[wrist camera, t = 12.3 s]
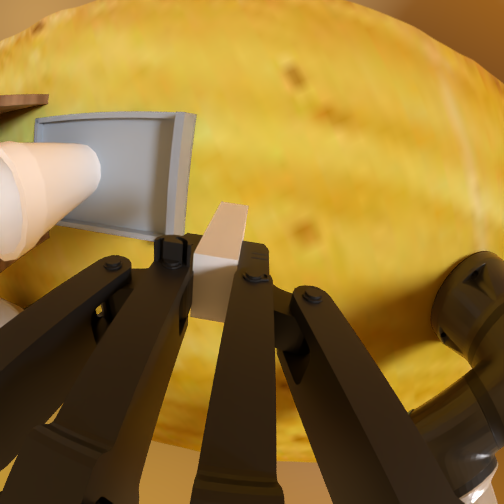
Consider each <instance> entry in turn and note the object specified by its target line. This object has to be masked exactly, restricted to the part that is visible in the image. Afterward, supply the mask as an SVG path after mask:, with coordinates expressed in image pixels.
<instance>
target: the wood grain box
mask: <svg viewBox="0 0 504 504" xmlns="http://www.w3.org/2000/svg"><path fill="white" fill-rule="evenodd" d="M48 97H49V94H23V95H0V114H1V113H5V112H9V111H13V110H18V109H22V108H27V107H32V106H37V105H43V104H48ZM48 238H49V231H47V232H46V233H45V234H44V235H43V236H42V237H41V238H40V239H39V241H38V242H37V243H36V245H35V246H34V247H33V248H35V247H36V246H37V245H39V244H40V243H42V242H43V241H45V240H46V239H48ZM33 248H32V249H33ZM32 249H30V250H32ZM30 250H29V251H30ZM29 251H27V252H29ZM27 252H26V253H27ZM26 253H25V254H26ZM25 254H23V255H25ZM23 255H22V256H23ZM22 256H20V257H19V258H21V257H22ZM19 258H18V259H19ZM18 259H15V260H9V261H3V260H2V259H0V273H1V272H2V271H3V270H5V269H6V268H7V267H8V266H10V265H11V264H12V263H14V262H15V261H16V260H18Z"/></svg>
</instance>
